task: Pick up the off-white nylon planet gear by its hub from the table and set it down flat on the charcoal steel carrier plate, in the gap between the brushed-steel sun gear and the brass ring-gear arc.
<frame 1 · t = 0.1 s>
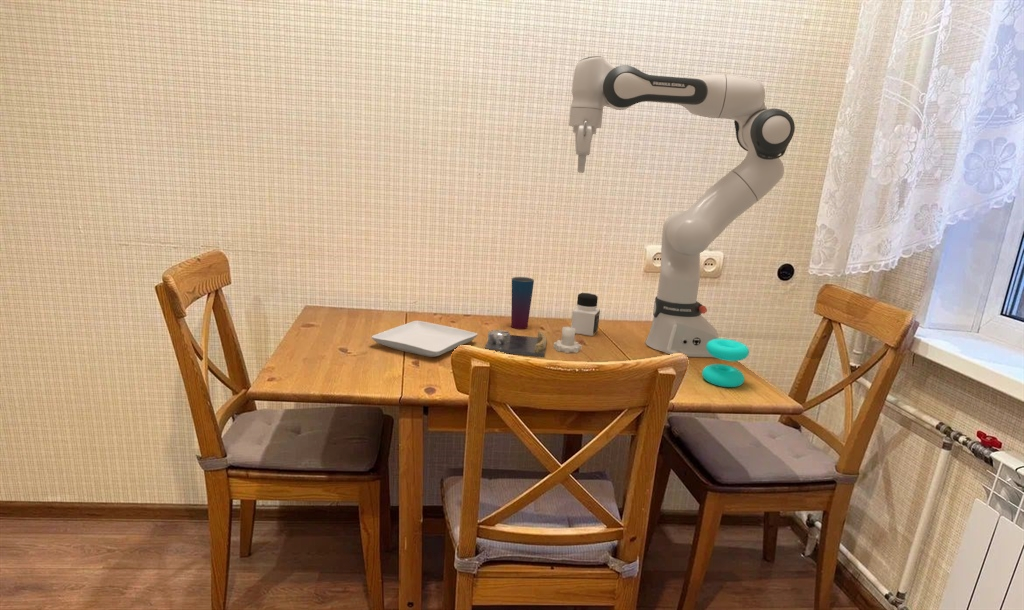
hand: (580, 172, 167), 48 cm above the table, fingers open, 8 cm apart
planet gear: (567, 349, 167), on the table
carrier plate: (516, 346, 167), on the table
cup: (519, 327, 186), on the table
medicine bottle: (584, 332, 185), on the table
salad plate: (425, 346, 163), on the table
donuts: (722, 382, 151), on the table
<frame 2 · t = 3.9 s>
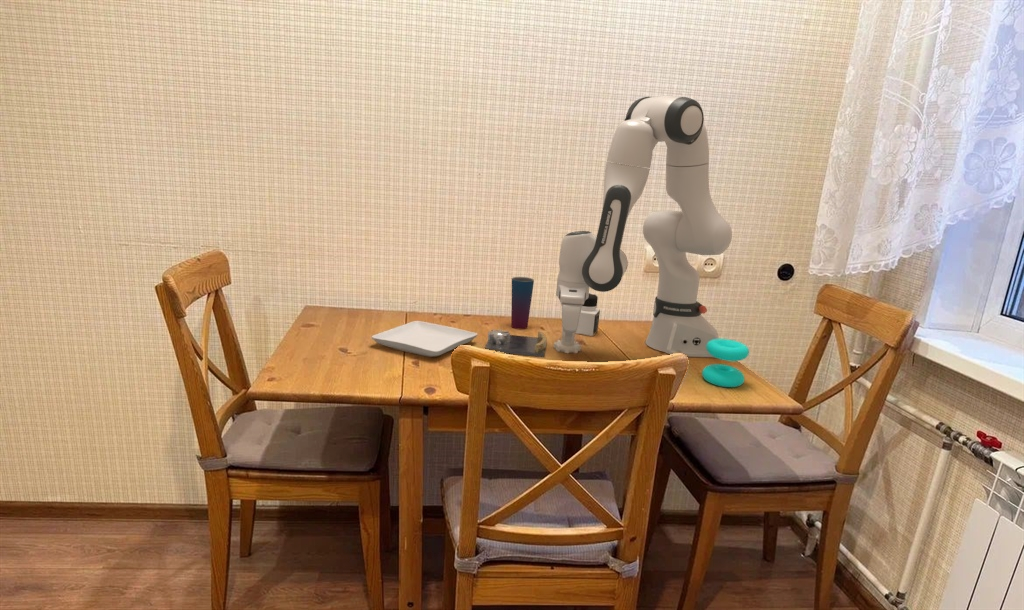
hand: (568, 339, 167), 3 cm above the table, fingers closed on planet gear, 4 cm apart
planet gear: (567, 349, 167), on the table, touching gripper
everything else where it was.
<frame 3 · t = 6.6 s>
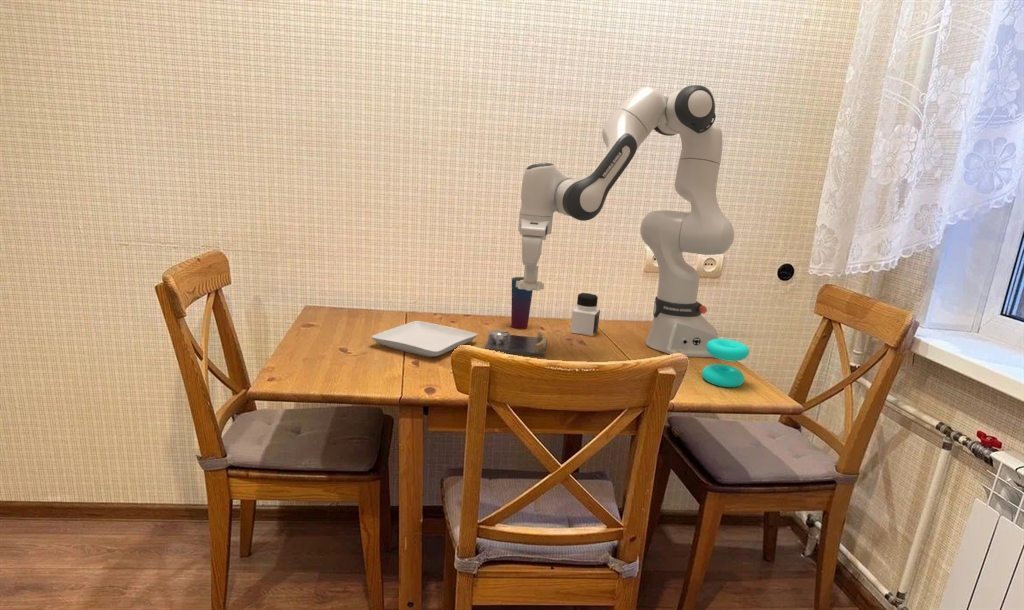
hand: (530, 277, 162), 20 cm above the table, fingers closed on planet gear, 4 cm apart
planet gear: (529, 287, 162), point 17 cm above the table, touching gripper
everything else where it was.
when the fingers open (5 cm above the table, at t = 9.7 s): planet gear stays where it is, resting on carrier plate.
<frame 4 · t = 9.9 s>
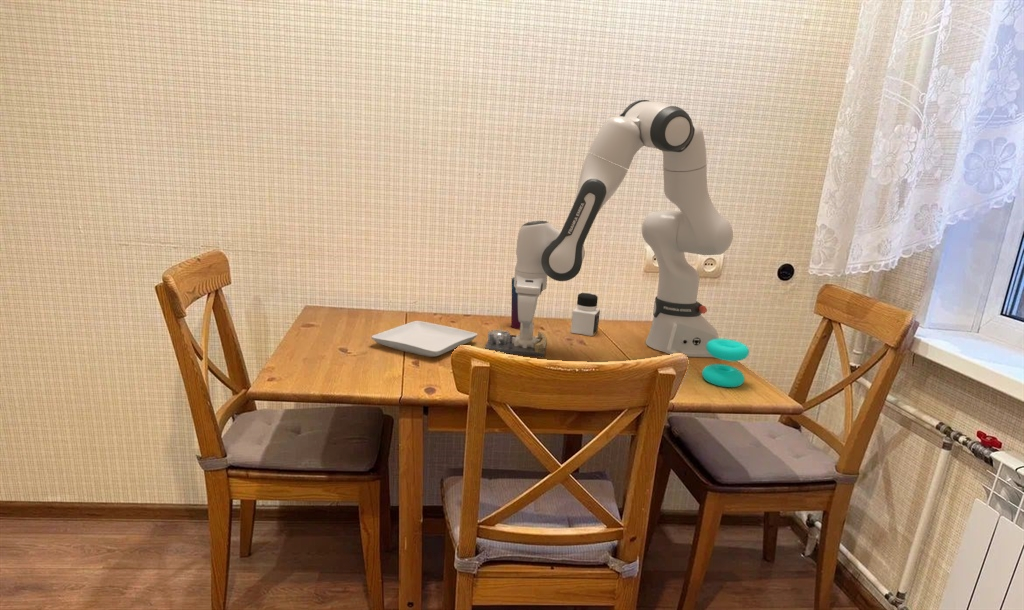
hand: (526, 330, 165), 5 cm above the table, fingers open, 5 cm apart
planet gear: (525, 343, 166), point 1 cm above the table, touching carrier plate
everything else where it was.
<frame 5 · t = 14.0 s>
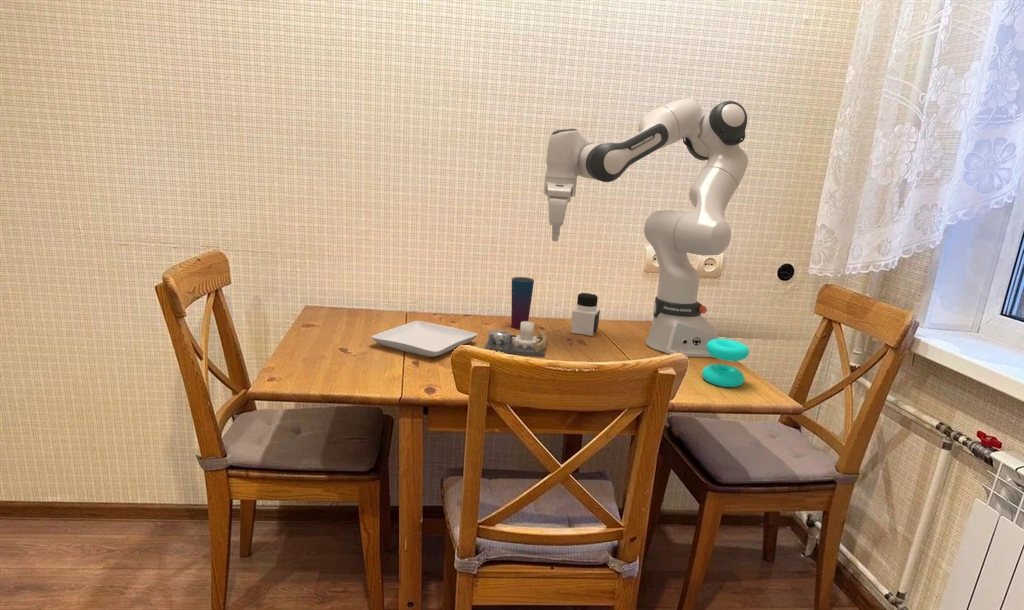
hand: (555, 238, 171), 29 cm above the table, fingers open, 8 cm apart
nothing on the table moved.
at the end: planet gear 0.0 cm from the target spot on the carrier plate, point 1.0 cm above the carrier plate's base; planet gear tilted 0°; the gripper is holding nothing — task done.
